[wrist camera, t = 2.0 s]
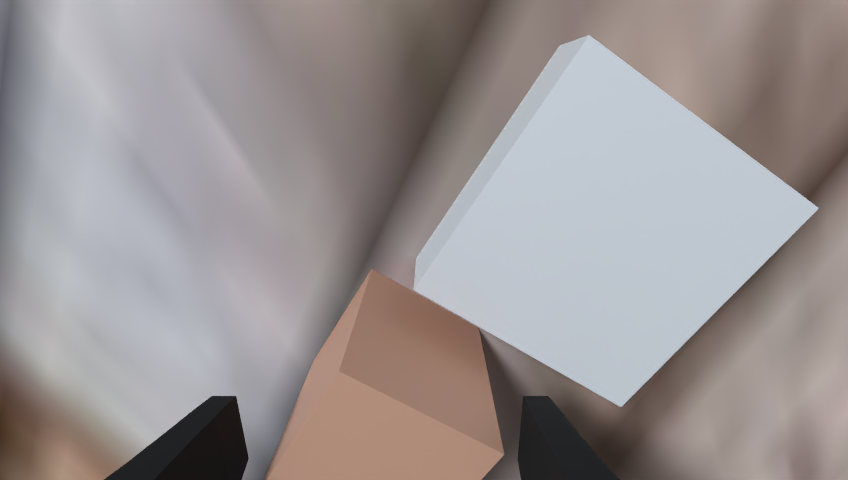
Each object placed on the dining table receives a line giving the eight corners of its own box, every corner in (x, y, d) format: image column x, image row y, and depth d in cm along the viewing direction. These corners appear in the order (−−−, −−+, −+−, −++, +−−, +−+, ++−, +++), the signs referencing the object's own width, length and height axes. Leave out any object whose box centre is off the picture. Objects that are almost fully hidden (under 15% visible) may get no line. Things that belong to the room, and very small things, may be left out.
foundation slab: (743, 185, 12) (819, 208, 10) (589, 354, 14) (620, 407, 12) (554, 47, 11) (589, 35, 9) (416, 253, 13) (413, 289, 11)
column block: (478, 327, 14) (504, 454, 9) (415, 409, 15) (408, 560, 10) (372, 268, 13) (338, 371, 8) (314, 359, 14) (256, 495, 9)
